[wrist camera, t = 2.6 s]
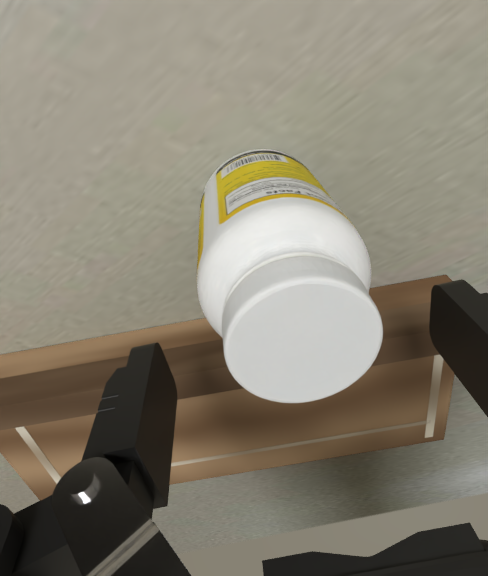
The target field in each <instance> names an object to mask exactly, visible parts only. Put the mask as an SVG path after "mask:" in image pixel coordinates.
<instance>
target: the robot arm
mask: <svg viewBox="0 0 488 576" xmlns="http://www.w3.org/2000/svg"><path fill="white" fill-rule="evenodd" d="M429 332H430V337H431V340H432V343H433V345H434V347H435V348H436V350H437V351H438V353H439V354H440V355H441V356H442V358H443V359H444V360H445V362H446V363H447V364H448V366H449V367H450V368H451V370H452V371H453V372H454V373H455V375H456V376H457V377H458V379H459V380H460V381H461V383H462V384H463V385H464V387H465V388H466V389H467V391H468V392H469V393H470V394H471V396H472V397H473V398H474V400H475V401H476V402H477V404H478V405H479V406H480V408H481V409H482V410H483V411H484V413H485V414H486V415H487V417H488V293H483V294H480V293H478V292H477V291H476V290H475V289H474V288H473V287H472V286H471V285H469V284H468V283H467V282H466V281H464V280H457V281H452V282H447V283H443V284H438V285H434V286H433V288H432V290H431V304H430V322H429ZM101 398H102V400H101V401H100V404H99V407H98V413H96V416H95V419H94V423H93V426H92V429H91V432H90V435H89V438H88V442H87V445H86V448H85V451H84V454H83V457H82V460H81V462H79V463H78V464H76V465H75V466H73V467H72V468H71V469H69V470H68V471H67V472H66V473H65V474H64V475H63V476H62V478H61V479H60V480H59V482H58V483H57V485H56V487H55V489H54V491H53V494H52V495H50V496H49V497H47V498H45V499H43V500H41V501H39V502H37V503H35V504H33V505H31V506H29V507H27V508H25V509H23V510H21V511H19V512H17V513H15V514H13V513H12V512H11V511H10V510H9V508H8V507H6V506H4V505H1V504H0V576H191V574H190V573H189V572H188V570H187V569H186V567H185V566H184V564H183V563H182V562H181V560H180V558H179V557H178V556H177V554H176V553H175V551H174V550H173V548H172V547H171V546H170V544H169V543H168V541H167V540H166V538H165V537H164V535H163V534H162V533H161V531H160V530H159V528H158V527H157V526H156V524H155V523H154V522H152V512H153V509H155V508H160V507H165V506H167V504H168V493H169V483H170V472H171V462H172V451H173V441H174V430H175V420H176V409H177V388H176V384H175V380H174V377H173V375H172V373H171V370H170V368H169V365H168V363H167V360H166V358H165V355H164V353H163V350H162V348H161V346H160V344H159V343H157V342H156V343H152V344H147V345H142V346H137V347H133V348H132V349H131V351H130V354H129V358H128V362H127V365H126V367H121V368H117V369H116V371H115V372H114V373H113V374H112V376H111V377H110V378H109V380H108V381H107V382H106V385H105V388H104V391H103V394H102V397H101ZM262 563H263V572H264V576H488V541H487V540H479V538H478V537H477V535H476V533H475V531H474V529H473V528H472V526H471V524H470V523H465V524H459V525H454V526H449V527H443V528H437V529H432V530H427V531H421V532H417V533H415V534H413V535H412V536H410V537H408V538H406V539H404V540H402V541H400V542H398V543H396V544H395V545H393V546H391V547H389V548H387V549H385V550H384V551H381V552H380V553H378V554H376V555H373V556H370V557H359V556H350V555H341V554H332V553H321V552H307V553H302V554H296V555H290V556H285V557H280V558H274V559H269V560H263V561H262Z"/></svg>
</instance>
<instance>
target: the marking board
mask: <svg viewBox="0 0 488 576" xmlns="http://www.w3.org/2000/svg"><path fill="white" fill-rule="evenodd" d="M447 282H452V280H451V279H450V278H449V277H448V276H447V275H442V276H436V277H431V278H425V279H420V280H414V281H408V282H403V283H397V284H392V285H386V286H381V287H375V288H370V289H369V295H370V297H371V299H372V300H373V302H374V303H375V305H376V307H377V309H378V311H379V314H380V316H381V320H382V326H383V339H382V343H381V347H380V350H379V352H378V355H377V357H376V359H375V360H374V362H373V363H372V365H371V366H370V368H369V369H368V370H367V371H366V373H365V374H364V375H362V376H361V377H360V378H359V379H358V380H357V381H355V382H354V383H353V384H351V385H350V386H349V387H347V388H345V389H344V390H342V391H340V392H338V393H336V394H334V395H331V396H328V397H326V398H323V399H319V400H315V401H310V402H304V403H281V402H275V401H270V400H266V399H263V398H261V397H258V396H256V395H254V394H252V393H250V392H249V391H247V390H246V389H245V388H244V387H242V386H241V385H240V384H239V383H238V382H237V381H236V380H235V379H234V377H233V376H232V374H231V373H230V371H229V369H228V367H227V364H226V361H225V357H224V350H223V338H222V337H221V336H220V335H219V334H218V333H217V332H216V331H215V330H214V329H213V328H212V326H211V325H210V323H209V322H208V320H207V319H206V318H203V319H197V320H191V321H186V322H180V323H175V324H169V325H164V326H158V327H152V328H147V329H141V330H136V331H130V332H125V333H119V334H114V335H108V336H102V337H97V338H91V339H86V340H80V341H75V342H69V343H63V344H58V345H52V346H47V347H41V348H36V349H30V350H24V351H19V352H13V353H8V354H2V355H0V452H1V454H2V455H3V456H4V457H5V458H6V460H7V461H8V462H9V463H10V465H11V466H12V467H13V468H14V469H15V471H16V472H17V473H18V474H19V476H20V477H21V478H22V479H23V480H24V482H25V483H26V484H27V485H28V486H29V488H30V489H31V490H32V491H33V493H34V494H35V495H36V496H37V497H38V499H39V500H40V501H41V500H43V499H45V498H47V497H49V496H50V495H52V494H53V491H54V489H55V487H56V485H57V483H58V482H59V480H60V479H61V478H62V476H63V475H64V474H65V473H66V472H67V471H68V470H69V469H71V468H72V467H73V466H75V465H76V464H78V463H79V462H81V460H82V457H83V454H84V451H85V448H86V445H87V442H88V438H89V435H90V432H91V429H92V426H93V423H94V419H95V416H96V413H98V407H99V404H100V401H101V400H102V398H101V397H102V394H103V391H104V388H105V385H106V382H107V381H108V380H109V378H110V377H111V376H112V374H113V373H114V372H115V371H116V369H117V368H121V367H126V365H127V362H128V358H129V354H130V351H131V349H132V348H133V347H137V346H142V345H147V344H152V343H156V342H157V343H159V344H160V346H161V348H162V350H163V353H164V355H165V358H166V360H167V363H168V365H169V368H170V370H171V373H172V375H173V377H174V380H175V384H176V388H177V409H176V420H175V430H174V441H173V451H172V462H171V472H170V483H169V485H170V484H176V483H182V482H188V481H195V480H201V479H207V478H213V477H219V476H225V475H231V474H237V473H243V472H249V471H255V470H261V469H267V468H273V467H279V466H285V465H291V464H298V463H304V462H310V461H316V460H322V459H328V458H334V457H340V456H346V455H352V454H358V453H364V452H370V451H376V450H382V449H388V448H394V447H401V446H407V445H413V444H419V443H425V442H431V441H437V440H443V439H444V436H445V429H446V423H447V417H448V411H449V405H450V398H451V392H452V386H453V380H454V372H453V371H452V370H451V368H450V367H449V366H448V364H447V363H446V362H445V360H444V359H443V358H442V356H441V355H440V354H439V353H438V351H437V350H436V348H435V347H434V345H433V343H432V340H431V337H430V332H429V322H430V304H431V290H432V288H433V286H434V285H438V284H443V283H447Z"/></svg>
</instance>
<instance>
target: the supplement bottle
mask: <svg viewBox="0 0 488 576" xmlns="http://www.w3.org/2000/svg"><path fill="white" fill-rule="evenodd" d="M370 284H371V264H370V259H369V254H368V251H367V248H366V246H365V244H364V242H363V240H362V238H361V237H360V235H359V233H358V232H357V230H356V228H355V227H354V226H353V224H352V223H351V222H350V220H349V219H348V218H347V217H346V216H345V214H344V213H343V212H342V211H341V209H340V208H339V207H338V206H337V204H336V203H335V202H334V201H333V199H332V198H331V197H330V196H329V195H328V193H327V192H326V191H325V190H324V188H323V187H322V186H321V185H320V183H319V182H318V181H317V180H316V179H315V177H314V176H313V175H312V174H311V172H310V171H309V170H308V169H307V168H306V167H305V166H304V165H303V164H302V163H300V162H299V161H298V160H296V159H295V158H293V157H291V156H289V155H287V154H285V153H282V152H279V151H275V150H269V149H256V150H250V151H246V152H243V153H240V154H237V155H235V156H233V157H231V158H230V159H228V160H227V161H226V162H224V163H223V164H222V165H221V166H220V167H219V168H218V169H217V170H216V171H215V172H214V173H213V174H212V176H211V177H210V179H209V181H208V182H207V184H206V187H205V189H204V192H203V195H202V199H201V205H200V218H199V241H198V264H197V290H198V297H199V302H200V305H201V308H202V311H203V313H204V315H205V317H206V319H207V320H208V322H209V323H210V325H211V326H212V328H213V329H214V330H215V331H216V332H217V333H218V334H219V335H220V336H221V337H222V338H223V350H224V357H225V361H226V364H227V367H228V369H229V371H230V373H231V374H232V376H233V377H234V379H235V380H236V381H237V382H238V383H239V384H240V385H241V386H242V387H244V388H245V389H246V390H247V391H249V392H250V393H252V394H254V395H256V396H258V397H261V398H263V399H266V400H270V401H275V402H281V403H304V402H310V401H315V400H319V399H323V398H326V397H328V396H331V395H334V394H336V393H338V392H340V391H342V390H344V389H345V388H347V387H349V386H350V385H351V384H353V383H354V382H355V381H357V380H358V379H359V378H360V377H361V376H362V375H364V374H365V373H366V371H367V370H368V369H369V368H370V366H371V365H372V363H373V362H374V360H375V359H376V357H377V355H378V352H379V350H380V347H381V343H382V339H383V326H382V320H381V316H380V314H379V311H378V309H377V307H376V305H375V303H374V302H373V300H372V299H371V297H370V295H369V289H370Z"/></svg>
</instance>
